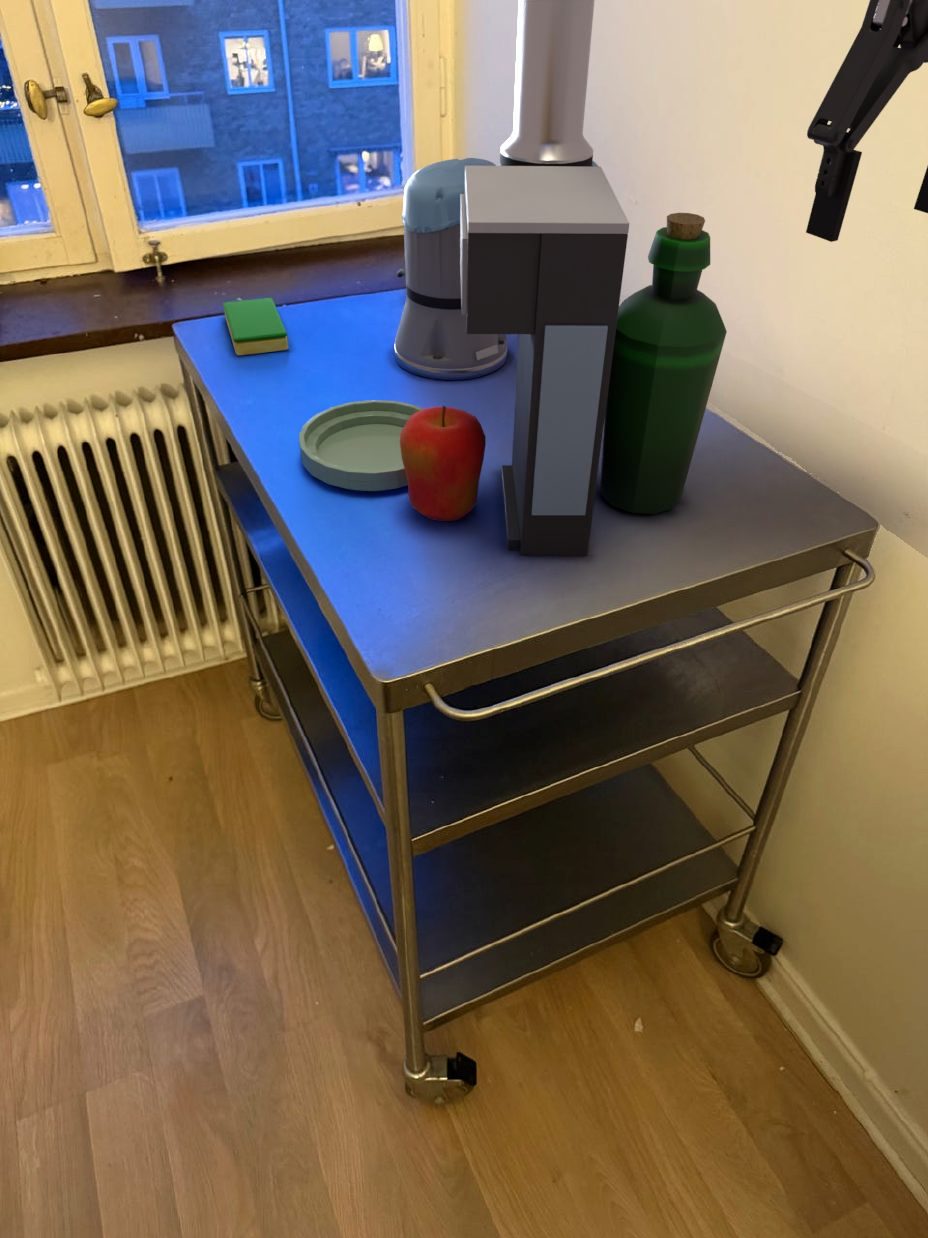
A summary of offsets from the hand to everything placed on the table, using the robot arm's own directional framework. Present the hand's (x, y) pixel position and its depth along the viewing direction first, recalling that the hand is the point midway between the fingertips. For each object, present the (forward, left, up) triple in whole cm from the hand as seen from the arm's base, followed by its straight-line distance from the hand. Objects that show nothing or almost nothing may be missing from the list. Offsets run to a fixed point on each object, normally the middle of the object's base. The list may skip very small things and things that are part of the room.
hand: (877, 224), depth 75 cm
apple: (-17, -33, -28) cm, 47 cm away
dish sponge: (-69, -34, -28) cm, 82 cm away
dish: (-30, -34, -28) cm, 54 cm away
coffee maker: (-13, -26, -28) cm, 41 cm away
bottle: (-9, -13, -28) cm, 33 cm away
